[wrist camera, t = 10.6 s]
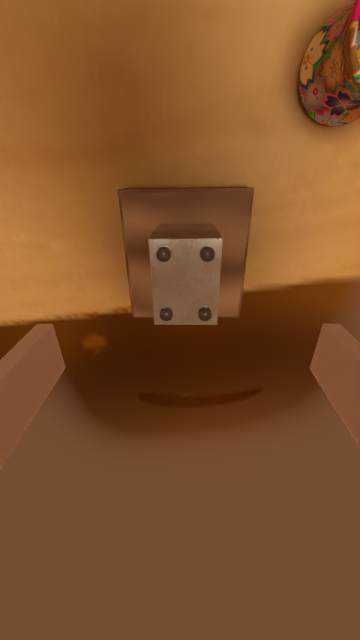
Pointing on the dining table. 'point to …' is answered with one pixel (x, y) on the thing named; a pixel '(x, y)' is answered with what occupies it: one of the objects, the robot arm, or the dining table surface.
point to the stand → (186, 208)
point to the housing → (185, 273)
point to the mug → (333, 70)
